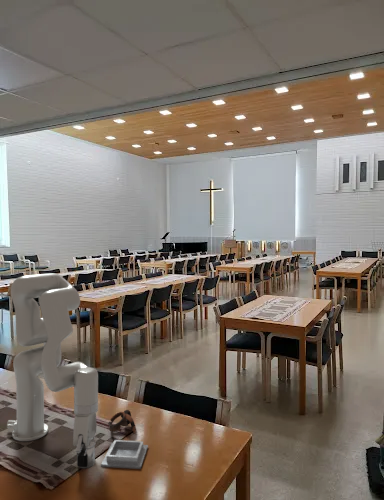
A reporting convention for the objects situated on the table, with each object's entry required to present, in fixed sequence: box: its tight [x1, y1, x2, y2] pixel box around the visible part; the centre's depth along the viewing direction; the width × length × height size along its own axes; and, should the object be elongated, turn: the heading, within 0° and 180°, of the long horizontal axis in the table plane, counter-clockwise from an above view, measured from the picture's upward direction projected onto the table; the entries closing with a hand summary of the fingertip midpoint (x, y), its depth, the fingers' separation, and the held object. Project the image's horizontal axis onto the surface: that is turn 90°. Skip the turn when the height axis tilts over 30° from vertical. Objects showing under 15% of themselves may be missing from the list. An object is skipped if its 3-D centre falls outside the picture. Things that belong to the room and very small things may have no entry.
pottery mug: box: [108, 409, 137, 435], centre depth 154 cm, size 12×10×8 cm
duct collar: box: [100, 439, 149, 470], centre depth 136 cm, size 13×13×3 cm
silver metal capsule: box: [75, 438, 96, 469], centre depth 132 cm, size 6×6×7 cm
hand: (85, 460), depth 132 cm, fingers open, 5 cm apart
